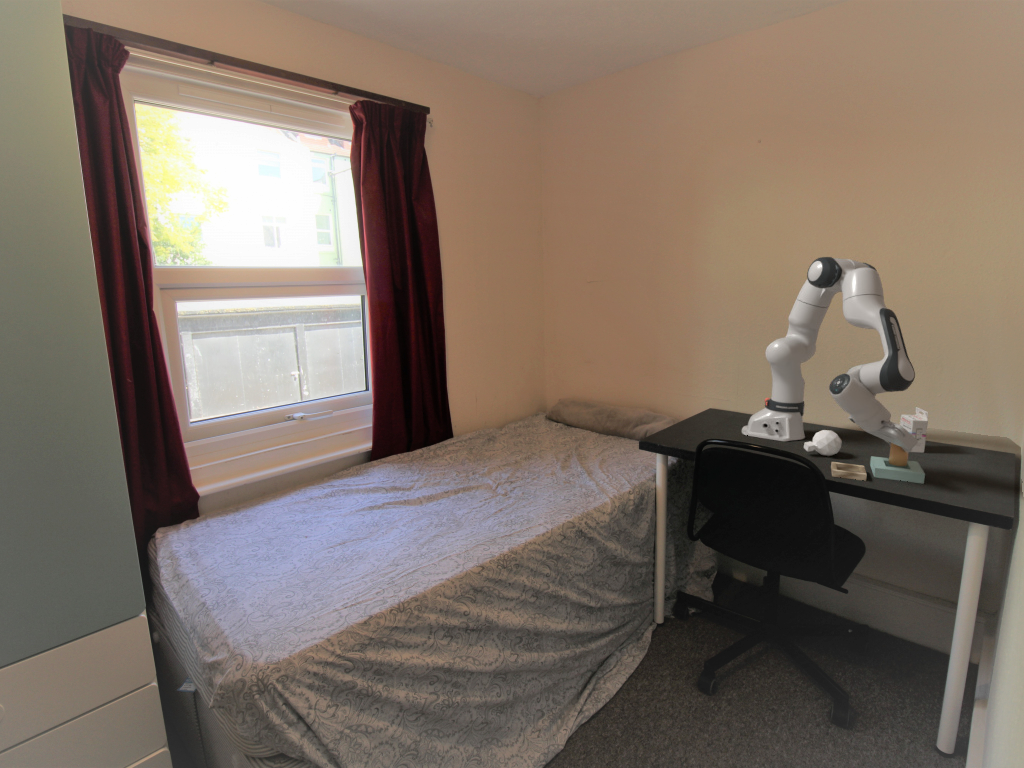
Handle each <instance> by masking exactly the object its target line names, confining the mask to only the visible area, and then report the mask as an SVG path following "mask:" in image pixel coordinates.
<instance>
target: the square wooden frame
mask: <svg viewBox="0 0 1024 768" xmlns="http://www.w3.org/2000/svg"><path fill="white" fill-rule="evenodd" d="M830 462H831V465H830V469H831V471H830V472H831V477H835V478H840V477H841V478H842V479H849V480H855V479H856V481H862V480H864V482H866V481H867V471H866V467H865V465H860V464H854V463H844V462H838V461H837V462H836V461H830Z"/></svg>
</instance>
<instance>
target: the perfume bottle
mask: <svg viewBox="0 0 1024 768" xmlns="http://www.w3.org/2000/svg"><path fill="white" fill-rule="evenodd" d="M842 443H843V442H842V439H841V437H840V436H839V435H838V433H836V432H835V431H834V430H828V429H827V430H826V429H822V430H820V431H818V432H815V434H814V436H813V437H812V441H806V442H805V441H804V445H803V449H804V450H805V451H806V452H813V451H815V452H816V453H818V454H820V455H821V456H827V457H830V456H834V455H835V454H838V453H839V451H840V450H841V448H842Z"/></svg>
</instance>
